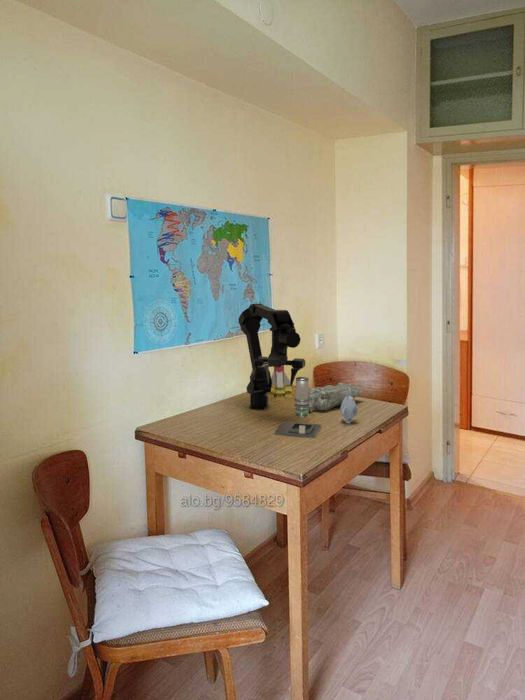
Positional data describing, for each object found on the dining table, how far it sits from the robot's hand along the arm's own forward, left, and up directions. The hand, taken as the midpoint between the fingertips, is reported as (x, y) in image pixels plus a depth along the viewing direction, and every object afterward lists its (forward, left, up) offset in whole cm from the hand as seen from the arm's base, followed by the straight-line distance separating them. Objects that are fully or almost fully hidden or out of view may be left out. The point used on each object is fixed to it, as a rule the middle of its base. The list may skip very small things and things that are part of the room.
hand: (279, 384), depth 200 cm
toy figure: (+26, +2, -13) cm, 29 cm away
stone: (+17, +22, -13) cm, 31 cm away
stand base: (+10, -13, -13) cm, 21 cm away
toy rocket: (-9, +32, -13) cm, 36 cm away
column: (+12, -14, -7) cm, 20 cm away
